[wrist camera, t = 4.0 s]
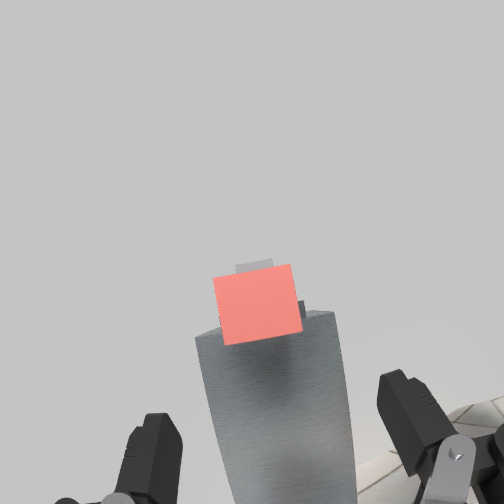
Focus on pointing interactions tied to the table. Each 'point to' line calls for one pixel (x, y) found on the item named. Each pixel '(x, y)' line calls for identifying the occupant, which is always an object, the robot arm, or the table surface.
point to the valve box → (282, 414)
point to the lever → (257, 302)
